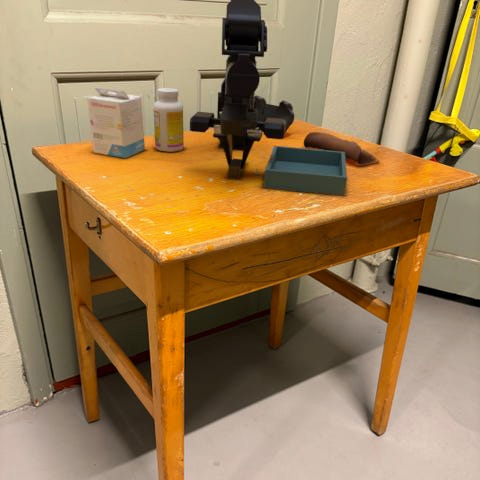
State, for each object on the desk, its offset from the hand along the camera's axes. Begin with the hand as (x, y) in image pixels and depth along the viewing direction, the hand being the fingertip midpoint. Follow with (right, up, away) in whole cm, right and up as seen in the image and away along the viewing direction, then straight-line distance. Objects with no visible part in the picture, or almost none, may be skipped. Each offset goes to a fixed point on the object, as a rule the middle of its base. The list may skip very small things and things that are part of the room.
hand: (236, 168), depth 108 cm
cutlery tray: (+15, -2, +1) cm, 15 cm away
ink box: (-27, +6, +10) cm, 29 cm away
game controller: (+8, +20, +34) cm, 40 cm away
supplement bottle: (-16, +8, +14) cm, 23 cm away
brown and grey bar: (0, 0, +2) cm, 2 cm away
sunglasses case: (+25, +8, +17) cm, 31 cm away
